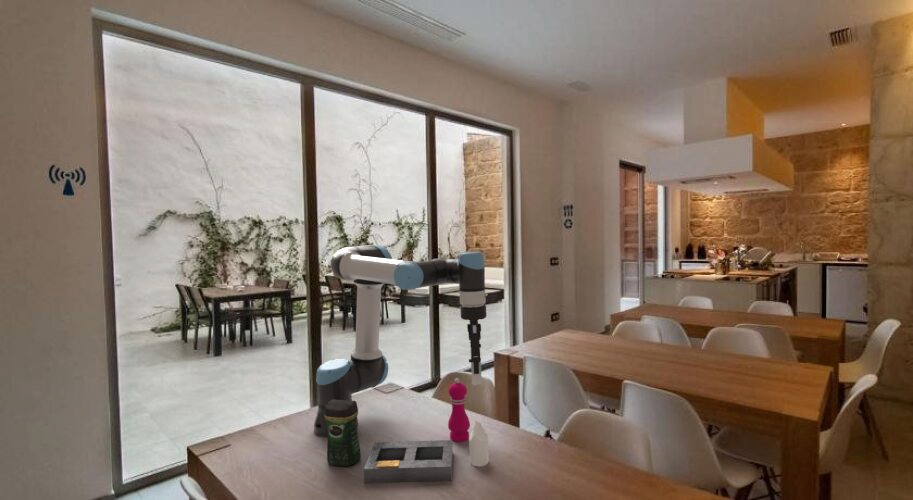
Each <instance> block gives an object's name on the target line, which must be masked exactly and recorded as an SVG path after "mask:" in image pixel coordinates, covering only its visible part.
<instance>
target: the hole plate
mask: <svg viewBox="0 0 913 500" xmlns="http://www.w3.org/2000/svg"><path fill="white" fill-rule="evenodd" d="M372 446H373V447H372V449H371V451H370V454H369V455H368V458H367V460H366V462H365V465H364V468H363V479H364V481H363V483H364V484H383V483H384V484H385V483H386V484H387V483H388V484H389V483H391V484H392V483H416V482H417V483H419V482H449V481H450V482H451V481H452V478H453V477H452V476H453V475H452V474H453V471H452V470H453V453H454V450H453V441H452V440H451V439H443V440H440V439H439V440H437V439H436V440H414V441H413V440H411V441H410V440H409V441H405V440H404V441H383V442H382V441H379V442H377V441H375V442H374V443H373V445H372Z"/></svg>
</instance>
